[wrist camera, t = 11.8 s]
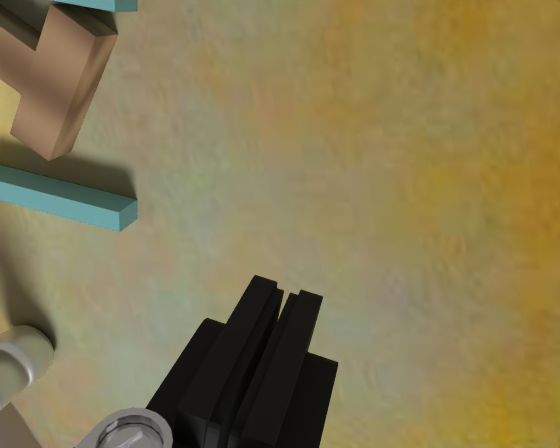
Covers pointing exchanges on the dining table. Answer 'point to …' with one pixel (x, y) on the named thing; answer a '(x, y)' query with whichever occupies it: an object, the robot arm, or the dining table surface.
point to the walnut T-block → (53, 74)
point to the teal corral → (64, 195)
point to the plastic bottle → (22, 360)
